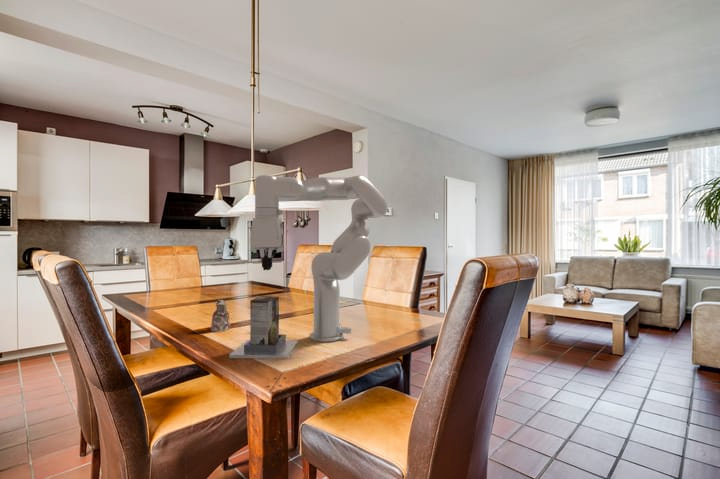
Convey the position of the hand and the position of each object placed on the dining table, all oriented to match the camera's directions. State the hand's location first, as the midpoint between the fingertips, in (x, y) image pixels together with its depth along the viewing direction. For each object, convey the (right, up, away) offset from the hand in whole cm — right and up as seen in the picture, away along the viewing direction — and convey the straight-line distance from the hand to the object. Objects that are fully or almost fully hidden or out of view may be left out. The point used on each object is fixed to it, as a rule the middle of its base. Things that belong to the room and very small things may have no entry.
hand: (267, 269), depth 117 cm
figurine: (-26, -27, +26) cm, 45 cm away
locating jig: (0, -26, 0) cm, 26 cm away
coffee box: (-1, -26, 0) cm, 26 cm away
